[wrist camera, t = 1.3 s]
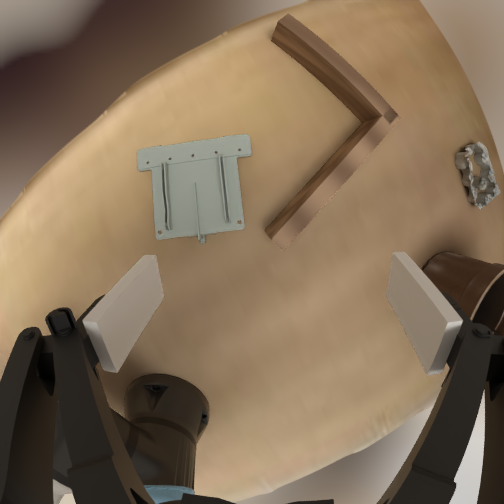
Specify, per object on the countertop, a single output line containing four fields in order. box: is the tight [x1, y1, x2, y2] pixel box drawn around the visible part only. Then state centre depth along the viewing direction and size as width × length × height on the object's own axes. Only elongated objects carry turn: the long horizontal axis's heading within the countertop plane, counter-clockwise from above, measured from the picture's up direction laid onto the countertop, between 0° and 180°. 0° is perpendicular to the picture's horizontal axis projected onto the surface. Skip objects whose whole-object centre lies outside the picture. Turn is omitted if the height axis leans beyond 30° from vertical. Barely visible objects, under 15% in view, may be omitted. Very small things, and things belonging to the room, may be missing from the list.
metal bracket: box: [137, 134, 252, 244], centre depth 37 cm, size 14×6×15 cm
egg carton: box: [455, 142, 500, 210], centre depth 38 cm, size 11×8×4 cm
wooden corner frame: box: [265, 14, 400, 251], centre depth 33 cm, size 23×20×6 cm
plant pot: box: [422, 252, 504, 336], centre depth 36 cm, size 16×16×16 cm
